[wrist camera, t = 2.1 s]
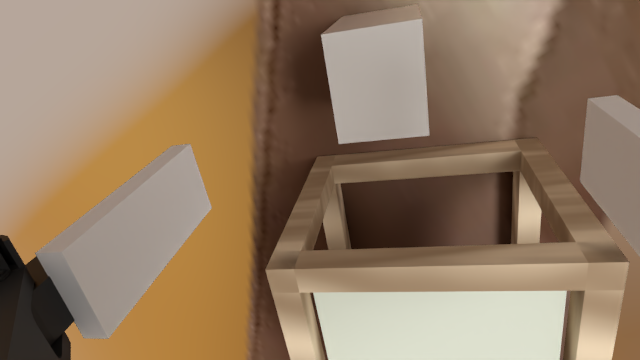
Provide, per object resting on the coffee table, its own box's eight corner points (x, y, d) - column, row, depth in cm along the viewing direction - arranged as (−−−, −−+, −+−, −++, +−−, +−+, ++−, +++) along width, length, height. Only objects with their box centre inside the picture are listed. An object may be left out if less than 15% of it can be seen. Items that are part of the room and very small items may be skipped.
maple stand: (317, 156, 33) (265, 269, 21) (537, 137, 30) (629, 261, 17) (345, 309, 40) (319, 461, 28) (527, 309, 36) (588, 485, 24)
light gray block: (341, 16, 28) (320, 34, 21) (418, 4, 27) (422, 18, 20) (354, 102, 31) (338, 144, 24) (423, 94, 30) (429, 135, 23)
